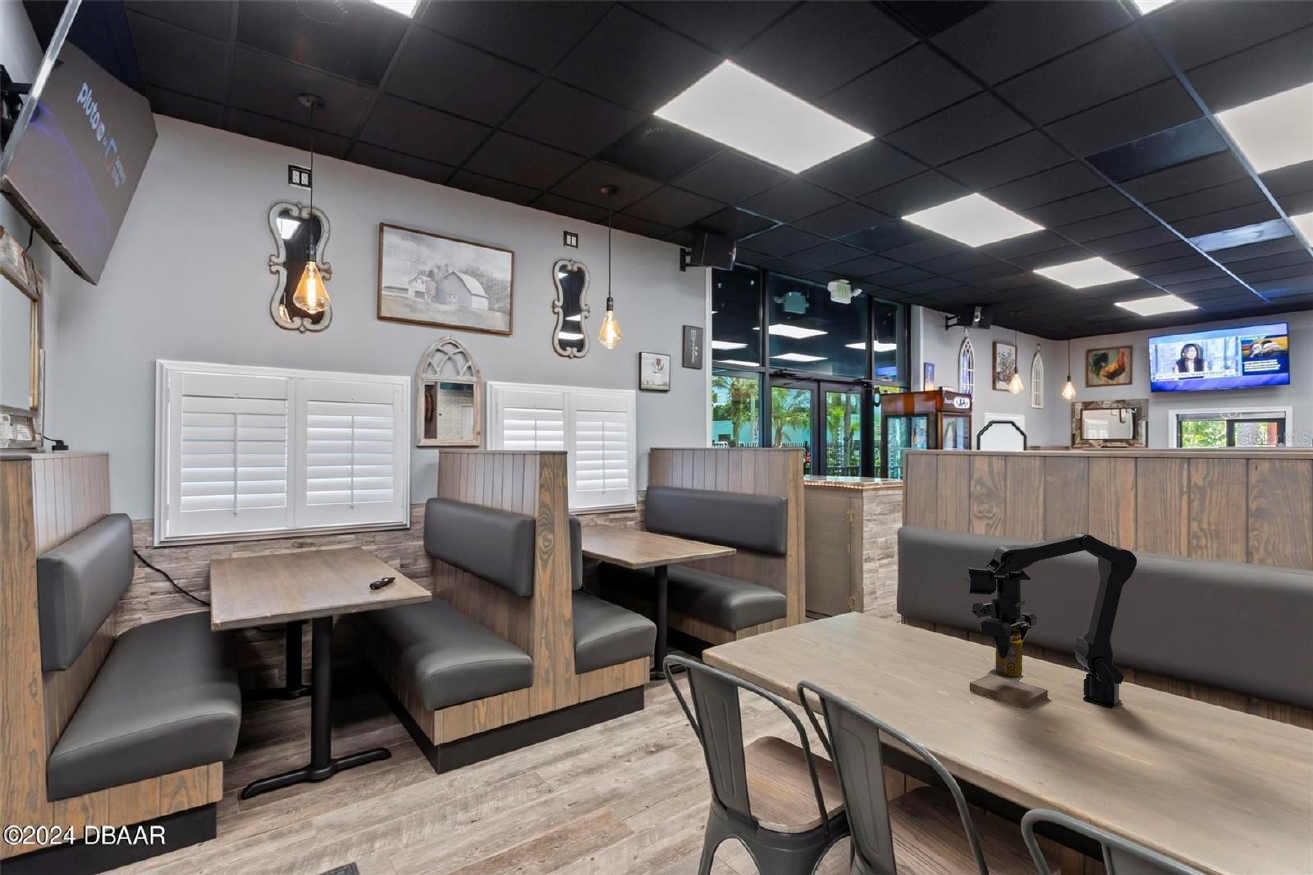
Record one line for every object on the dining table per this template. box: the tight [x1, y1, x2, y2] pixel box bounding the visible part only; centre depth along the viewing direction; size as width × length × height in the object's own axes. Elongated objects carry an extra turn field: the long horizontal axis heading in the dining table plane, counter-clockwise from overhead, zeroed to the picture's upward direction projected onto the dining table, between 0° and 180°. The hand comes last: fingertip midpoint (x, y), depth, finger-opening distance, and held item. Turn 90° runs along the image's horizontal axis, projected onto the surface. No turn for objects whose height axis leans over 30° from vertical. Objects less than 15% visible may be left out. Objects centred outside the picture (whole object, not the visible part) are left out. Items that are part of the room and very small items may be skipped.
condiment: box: [986, 626, 1028, 682], centre depth 161 cm, size 7×8×12 cm
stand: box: [969, 674, 1049, 710], centre depth 162 cm, size 14×12×2 cm
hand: (1008, 655), depth 162 cm, fingers closed on condiment, 6 cm apart
